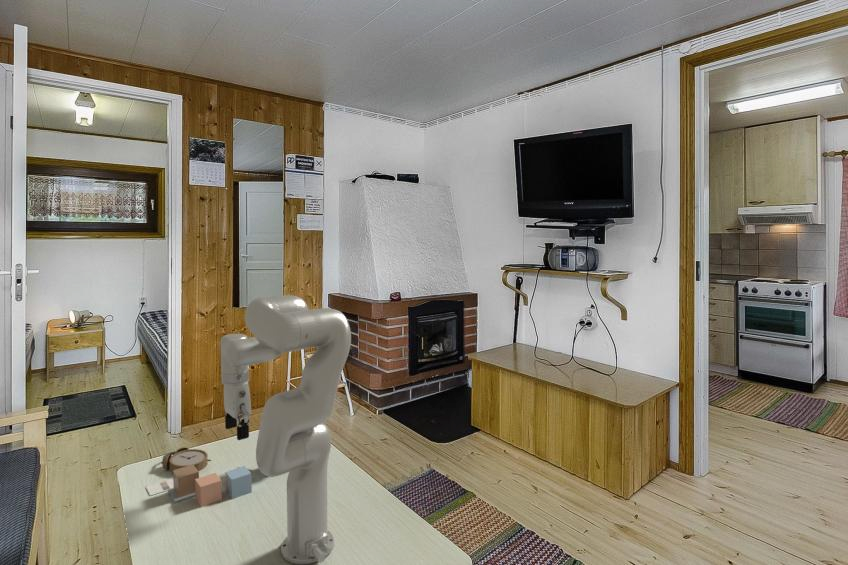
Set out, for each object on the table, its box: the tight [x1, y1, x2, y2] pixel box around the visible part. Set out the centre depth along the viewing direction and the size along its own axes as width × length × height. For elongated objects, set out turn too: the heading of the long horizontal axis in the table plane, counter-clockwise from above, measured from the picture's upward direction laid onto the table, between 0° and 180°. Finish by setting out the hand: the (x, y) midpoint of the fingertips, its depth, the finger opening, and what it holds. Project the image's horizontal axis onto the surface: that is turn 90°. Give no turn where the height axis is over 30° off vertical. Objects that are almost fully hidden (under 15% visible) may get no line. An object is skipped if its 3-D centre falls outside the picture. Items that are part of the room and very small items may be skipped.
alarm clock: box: [160, 446, 212, 474], centre depth 153 cm, size 11×5×15 cm
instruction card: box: [145, 478, 174, 497], centre depth 141 cm, size 6×9×1 cm, turn 131°
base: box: [167, 465, 200, 505], centre depth 137 cm, size 8×8×7 cm
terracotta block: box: [195, 472, 223, 508], centre depth 134 cm, size 6×6×6 cm
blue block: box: [224, 465, 253, 500], centre depth 138 cm, size 6×6×6 cm
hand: (237, 433), depth 137 cm, fingers open, 9 cm apart
